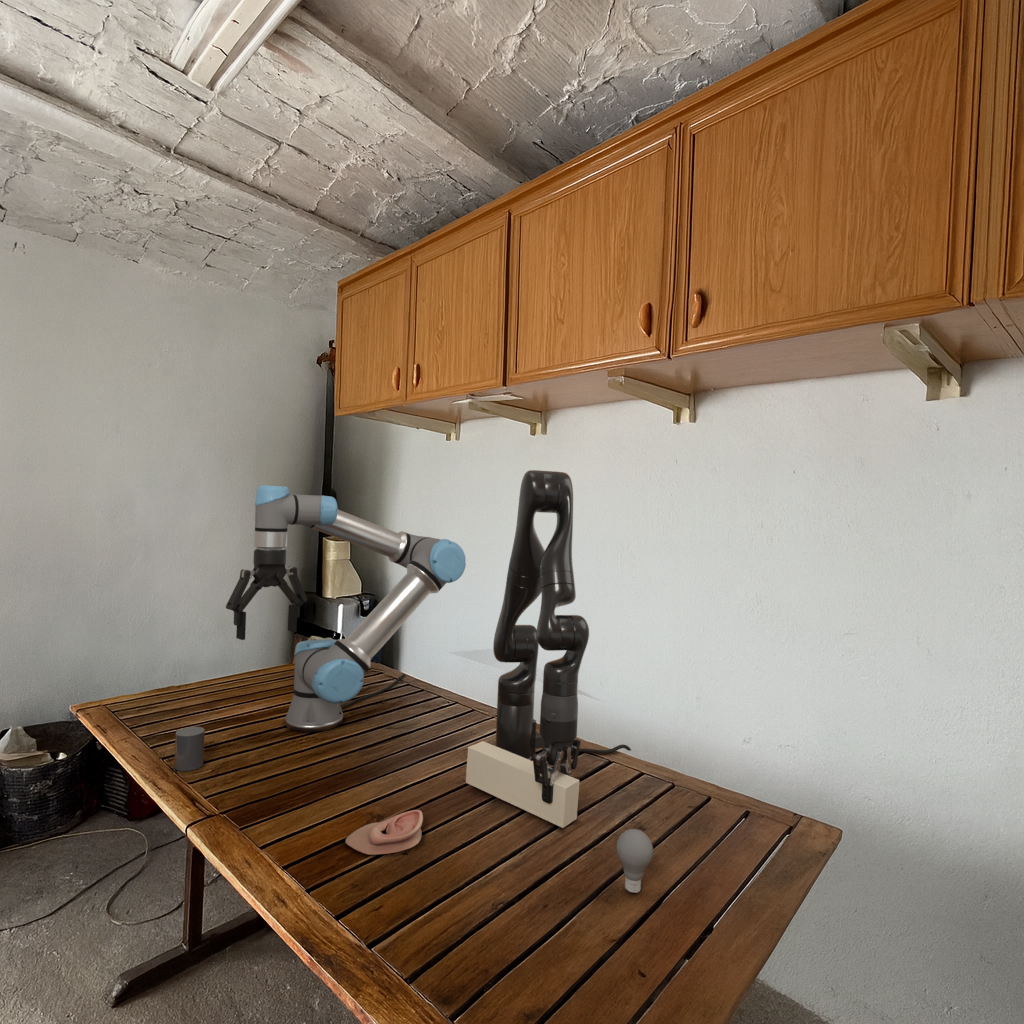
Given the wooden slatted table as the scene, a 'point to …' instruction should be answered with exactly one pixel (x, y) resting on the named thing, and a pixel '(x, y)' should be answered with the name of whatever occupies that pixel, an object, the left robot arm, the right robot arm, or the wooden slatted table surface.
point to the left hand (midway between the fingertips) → (267, 635)
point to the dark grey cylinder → (189, 748)
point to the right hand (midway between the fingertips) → (555, 796)
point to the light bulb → (634, 857)
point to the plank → (521, 783)
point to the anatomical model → (388, 834)
